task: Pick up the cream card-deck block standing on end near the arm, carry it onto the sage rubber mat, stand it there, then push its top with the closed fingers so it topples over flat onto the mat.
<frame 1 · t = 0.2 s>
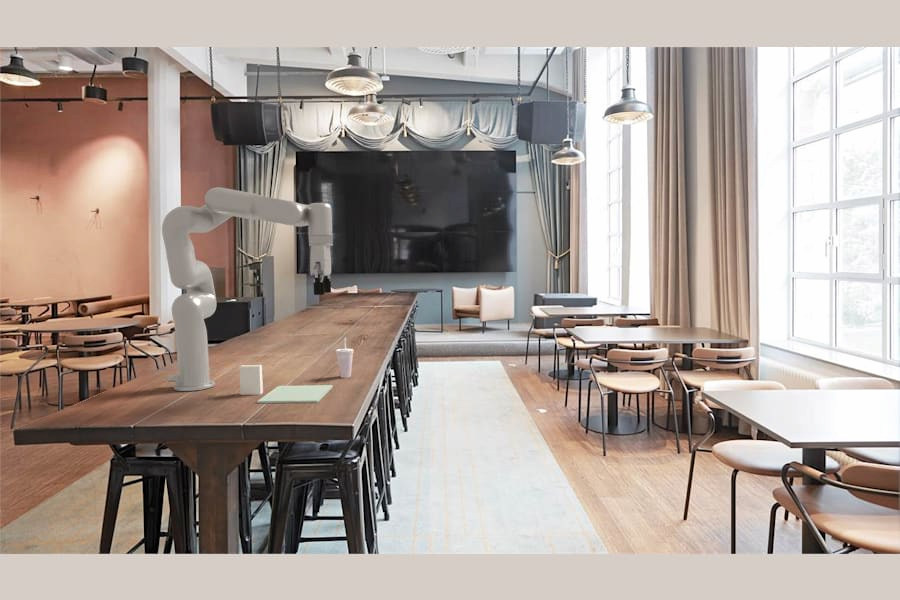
hand: (322, 293, 191), 31 cm above the table, fingers open, 9 cm apart
smoothie: (345, 377, 208), on the table
mat: (296, 394, 182), on the table
deck: (251, 393, 184), on the table
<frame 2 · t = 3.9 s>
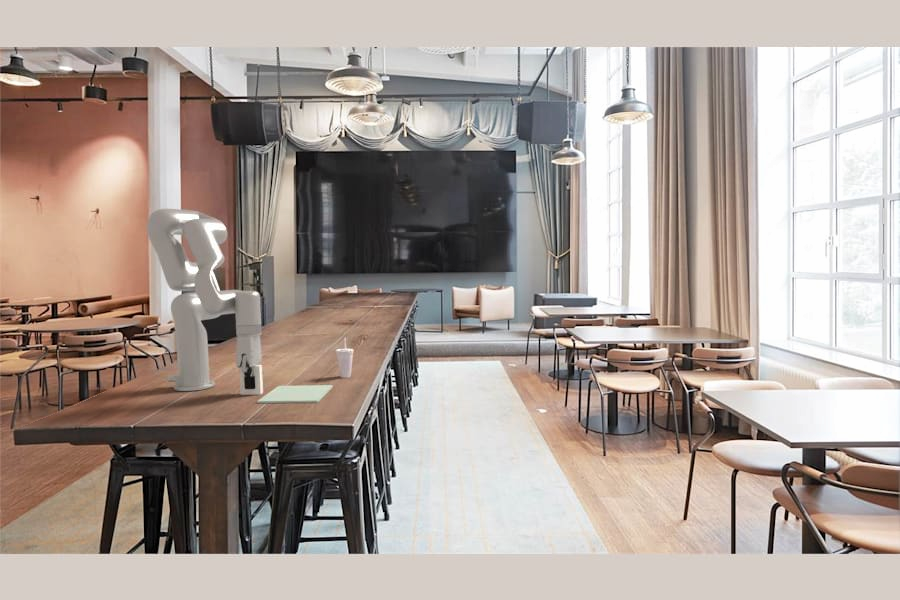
hand: (251, 387, 184), 2 cm above the table, fingers closed on deck, 2 cm apart
deck: (251, 393, 184), on the table, touching gripper
everything else where it was.
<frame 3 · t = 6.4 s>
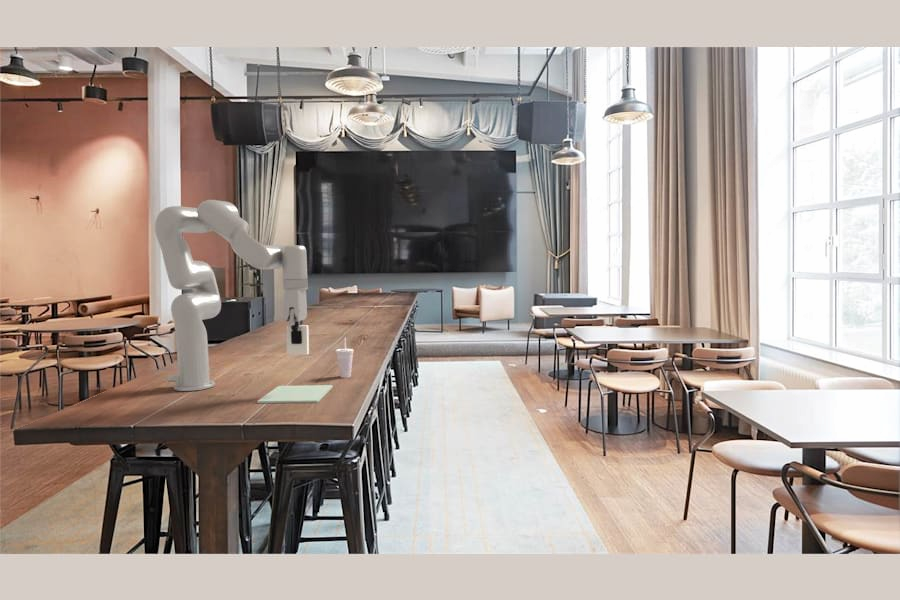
hand: (297, 342, 184), 16 cm above the table, fingers closed on deck
deck: (298, 353, 184), point 12 cm above the table, touching gripper
everything else where it was.
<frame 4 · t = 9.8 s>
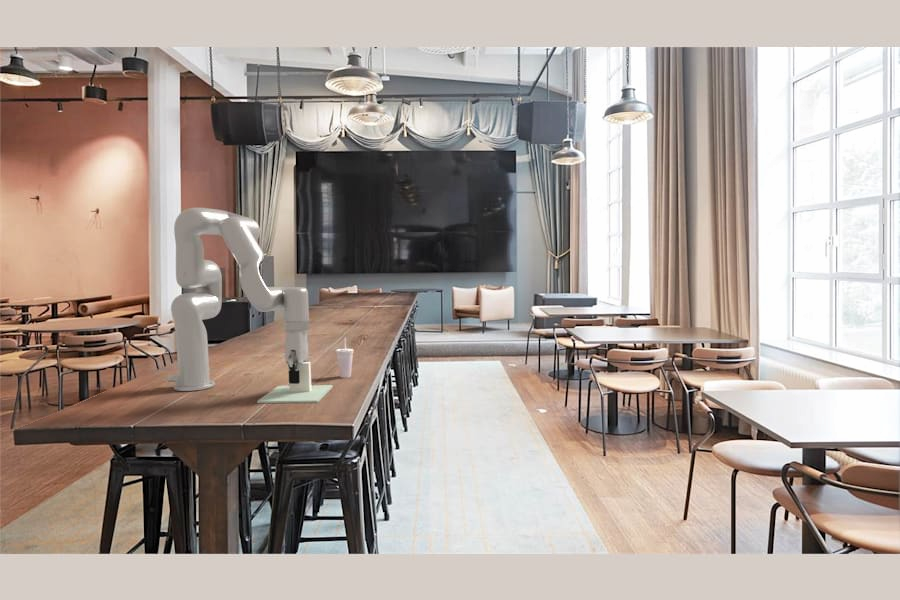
hand: (298, 379, 185), 4 cm above the table, fingers open, 9 cm apart
deck: (300, 390, 185), point 1 cm above the table, touching mat
everything else where it was.
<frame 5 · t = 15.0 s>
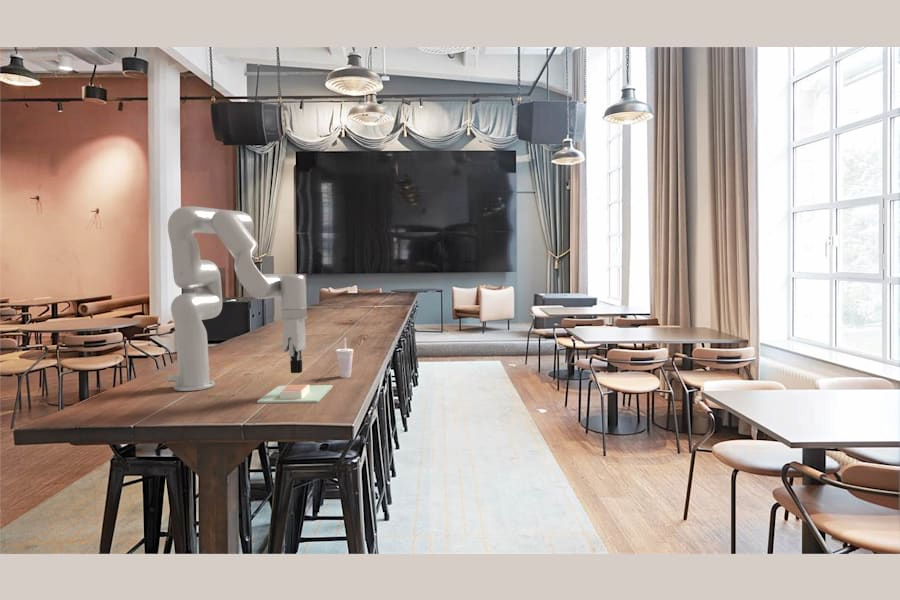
hand: (296, 372, 182), 7 cm above the table, fingers closed
deck: (299, 388, 183), point 2 cm above the table, tilted 90°, touching mat
everything else where it was.
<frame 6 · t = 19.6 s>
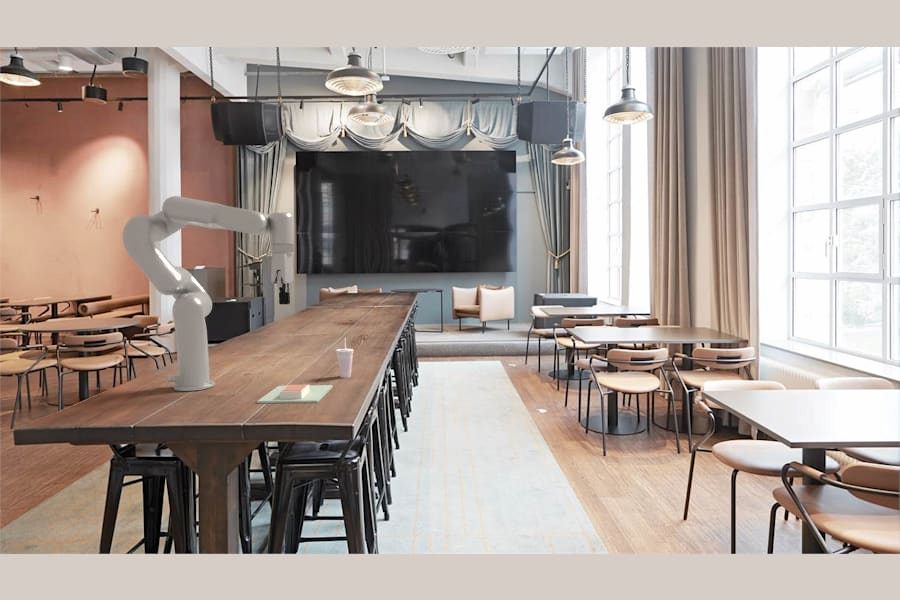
hand: (284, 304, 197), 27 cm above the table, fingers closed
nothing on the table moved.
at the end: deck tilted 90°; deck inside the target area on the mat (1.6 cm from its centre), point 1.7 cm above the mat's base; the gripper is holding nothing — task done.
